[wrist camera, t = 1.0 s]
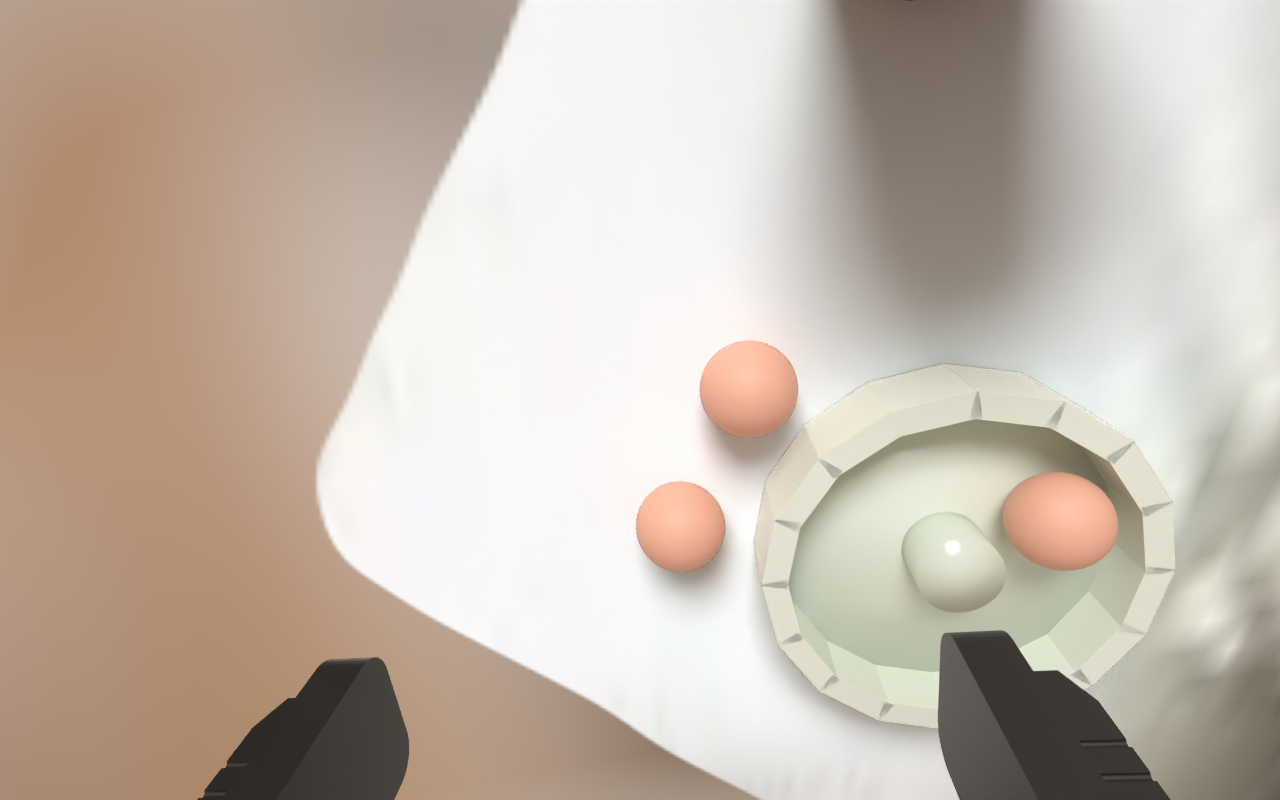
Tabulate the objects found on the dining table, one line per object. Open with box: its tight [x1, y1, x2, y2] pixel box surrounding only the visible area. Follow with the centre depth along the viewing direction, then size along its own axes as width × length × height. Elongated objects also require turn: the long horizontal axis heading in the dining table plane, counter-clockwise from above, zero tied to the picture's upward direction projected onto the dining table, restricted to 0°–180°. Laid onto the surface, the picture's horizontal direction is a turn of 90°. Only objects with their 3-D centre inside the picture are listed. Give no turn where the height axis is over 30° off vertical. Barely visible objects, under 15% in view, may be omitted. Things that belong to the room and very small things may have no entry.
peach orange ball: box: [636, 481, 725, 572], centre depth 27 cm, size 4×4×4 cm
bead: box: [700, 341, 798, 438], centre depth 25 cm, size 4×4×4 cm
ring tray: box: [754, 363, 1175, 729], centre depth 27 cm, size 15×15×3 cm
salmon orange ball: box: [1003, 472, 1118, 571], centre depth 24 cm, size 4×4×4 cm
